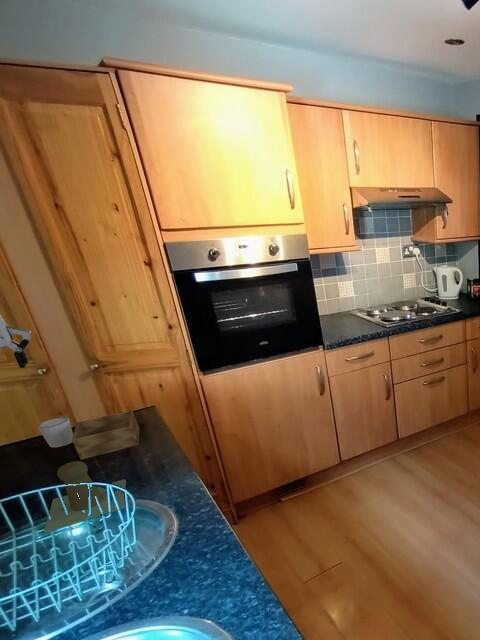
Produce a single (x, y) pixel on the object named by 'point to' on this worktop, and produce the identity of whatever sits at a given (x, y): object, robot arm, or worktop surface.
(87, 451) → the basket
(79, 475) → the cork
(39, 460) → the worktop surface
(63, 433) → the grey cup
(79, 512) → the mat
